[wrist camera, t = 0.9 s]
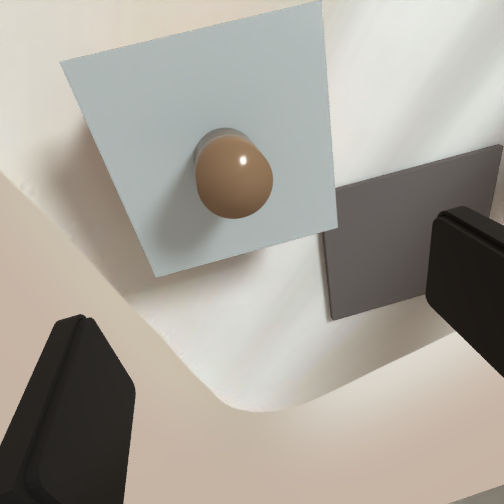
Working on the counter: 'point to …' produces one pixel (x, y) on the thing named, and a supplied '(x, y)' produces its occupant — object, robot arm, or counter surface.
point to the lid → (216, 135)
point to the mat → (399, 228)
